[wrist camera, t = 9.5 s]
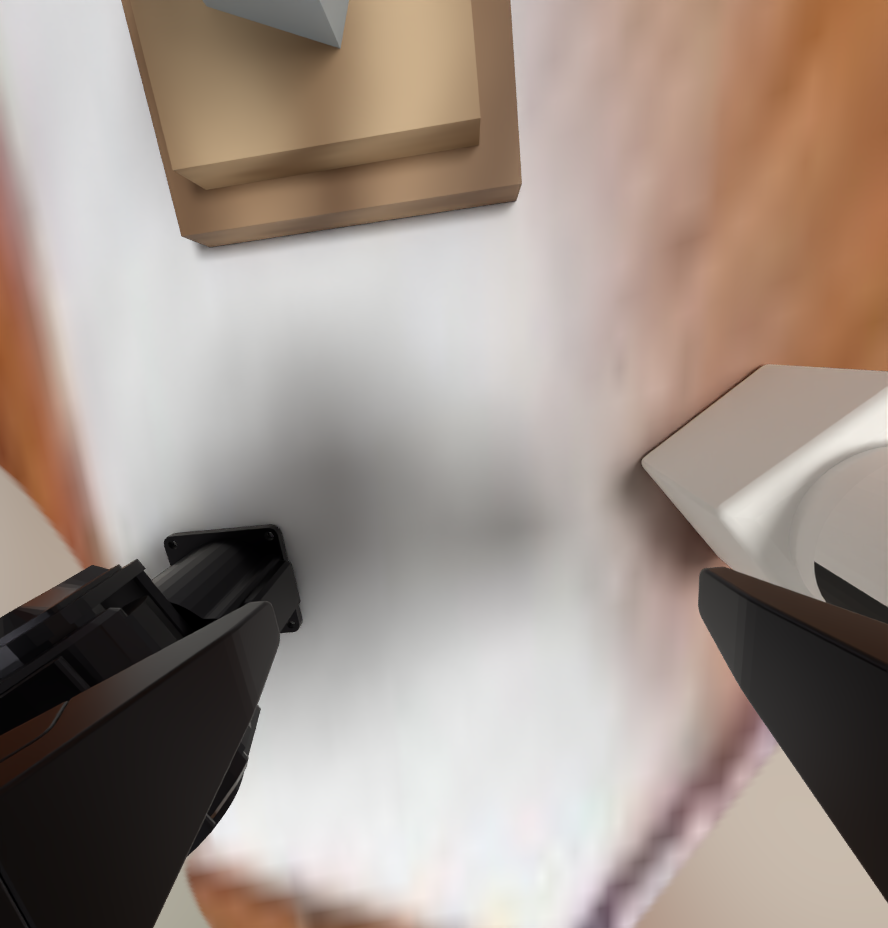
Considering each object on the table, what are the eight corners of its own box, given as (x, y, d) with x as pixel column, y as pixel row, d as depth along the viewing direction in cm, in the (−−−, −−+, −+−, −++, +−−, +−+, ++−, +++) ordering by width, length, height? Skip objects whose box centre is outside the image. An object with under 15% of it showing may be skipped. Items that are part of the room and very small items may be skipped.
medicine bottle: (846, 471, 21) (1325, 630, 9) (718, 557, 22) (987, 787, 11) (765, 360, 19) (1195, 380, 8) (635, 460, 21) (838, 598, 10)
